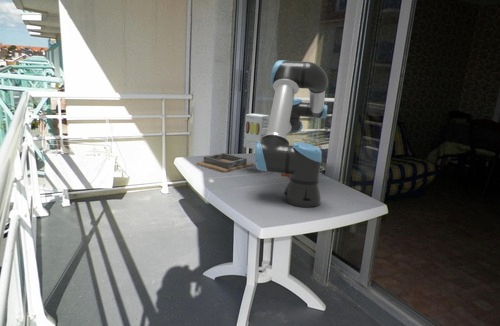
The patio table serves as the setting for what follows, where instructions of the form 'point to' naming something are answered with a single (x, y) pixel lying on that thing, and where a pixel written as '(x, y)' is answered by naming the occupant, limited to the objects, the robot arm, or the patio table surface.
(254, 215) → the patio table surface
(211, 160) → the tub holder
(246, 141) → the supplement box
